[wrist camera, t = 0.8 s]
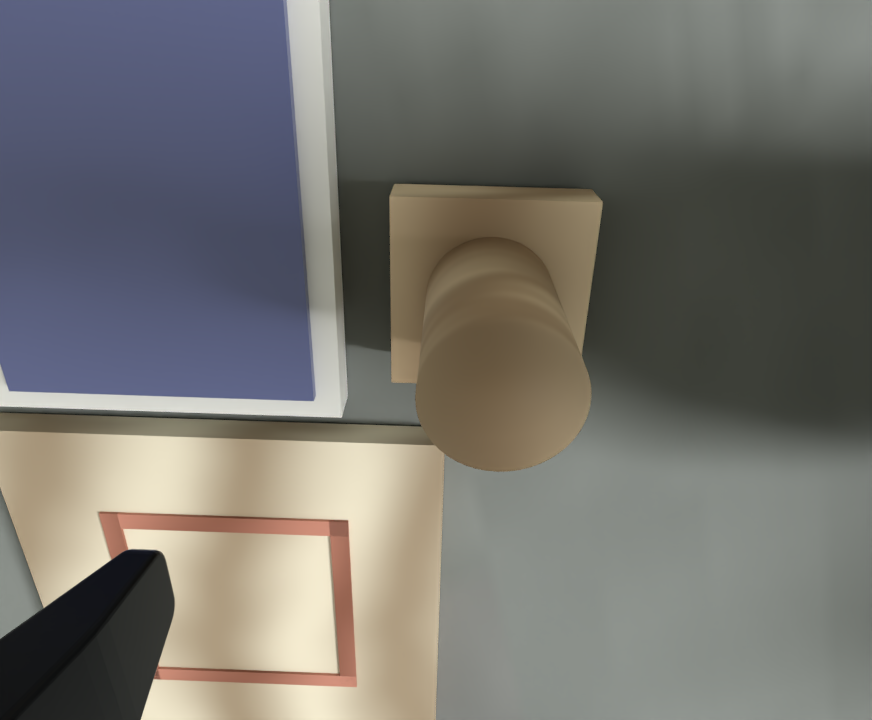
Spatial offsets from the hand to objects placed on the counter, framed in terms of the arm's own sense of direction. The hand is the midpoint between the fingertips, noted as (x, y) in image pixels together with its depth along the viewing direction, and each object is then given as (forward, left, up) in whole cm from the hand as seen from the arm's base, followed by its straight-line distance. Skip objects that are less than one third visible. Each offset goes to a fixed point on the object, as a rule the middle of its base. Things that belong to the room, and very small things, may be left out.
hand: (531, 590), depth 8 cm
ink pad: (+9, -2, -11) cm, 14 cm away
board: (+8, +12, -11) cm, 18 cm away
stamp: (0, 0, -11) cm, 11 cm away
